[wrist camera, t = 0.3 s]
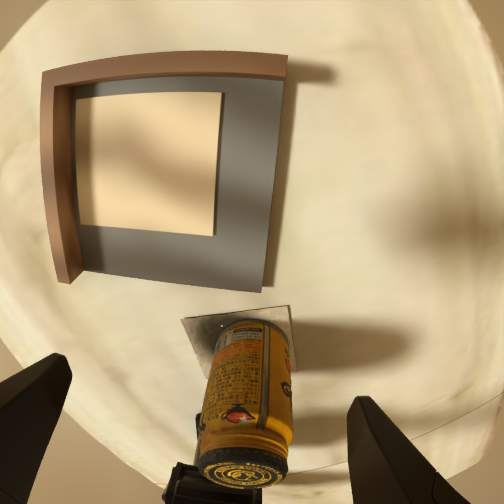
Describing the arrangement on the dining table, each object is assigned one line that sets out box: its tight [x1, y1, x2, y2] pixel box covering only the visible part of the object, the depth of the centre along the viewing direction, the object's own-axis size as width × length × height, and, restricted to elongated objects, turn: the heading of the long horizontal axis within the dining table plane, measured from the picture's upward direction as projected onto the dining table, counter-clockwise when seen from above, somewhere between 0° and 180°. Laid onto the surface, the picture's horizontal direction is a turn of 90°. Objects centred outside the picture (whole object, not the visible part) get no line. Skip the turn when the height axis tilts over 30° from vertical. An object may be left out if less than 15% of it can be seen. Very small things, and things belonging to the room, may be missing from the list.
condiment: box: [180, 306, 297, 489], centre depth 20 cm, size 7×8×12 cm
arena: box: [40, 51, 288, 293], centre depth 18 cm, size 15×15×3 cm
